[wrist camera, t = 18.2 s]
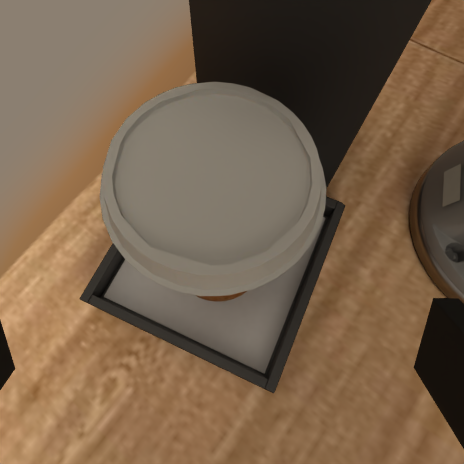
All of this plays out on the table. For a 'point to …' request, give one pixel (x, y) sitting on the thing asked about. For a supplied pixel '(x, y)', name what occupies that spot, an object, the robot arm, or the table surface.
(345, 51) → the coffee machine
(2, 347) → the robot arm
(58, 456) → the table surface
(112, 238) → the disposable coffee cup
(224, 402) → the table surface
